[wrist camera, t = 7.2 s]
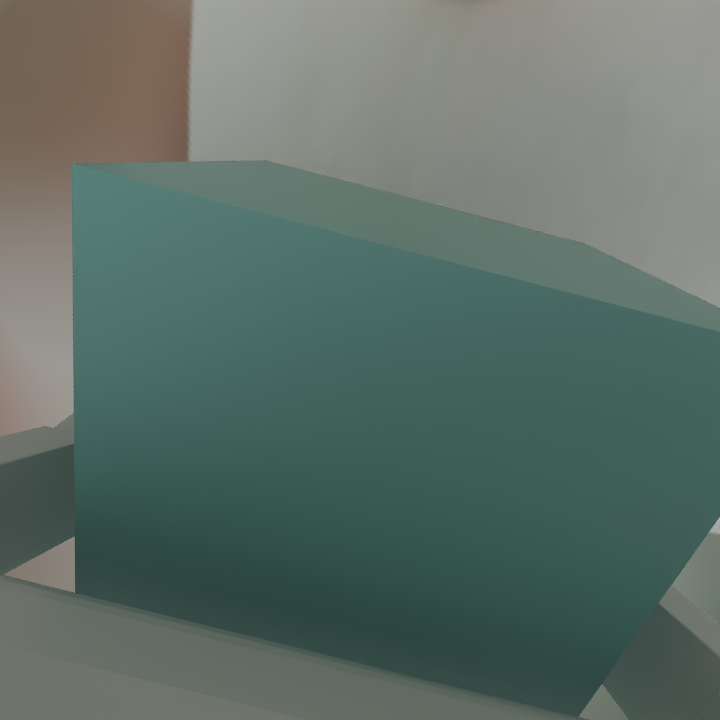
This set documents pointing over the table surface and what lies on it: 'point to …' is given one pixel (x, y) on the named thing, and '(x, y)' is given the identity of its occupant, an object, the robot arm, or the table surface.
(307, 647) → the teal rectangular box
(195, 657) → the robot arm
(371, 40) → the table surface
